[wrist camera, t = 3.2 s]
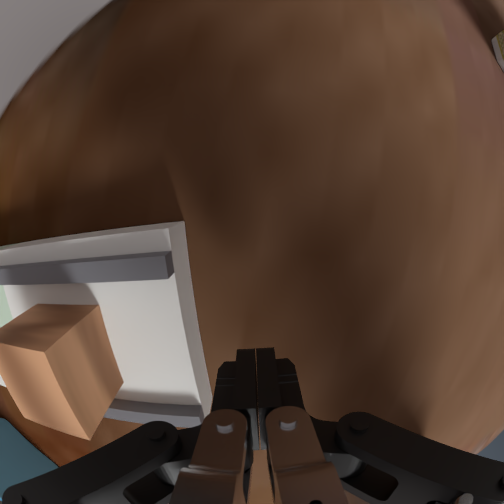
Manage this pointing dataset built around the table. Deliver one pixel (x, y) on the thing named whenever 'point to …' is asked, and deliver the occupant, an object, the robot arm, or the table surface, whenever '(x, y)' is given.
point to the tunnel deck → (124, 311)
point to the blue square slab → (19, 458)
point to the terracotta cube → (60, 366)
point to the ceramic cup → (499, 48)
